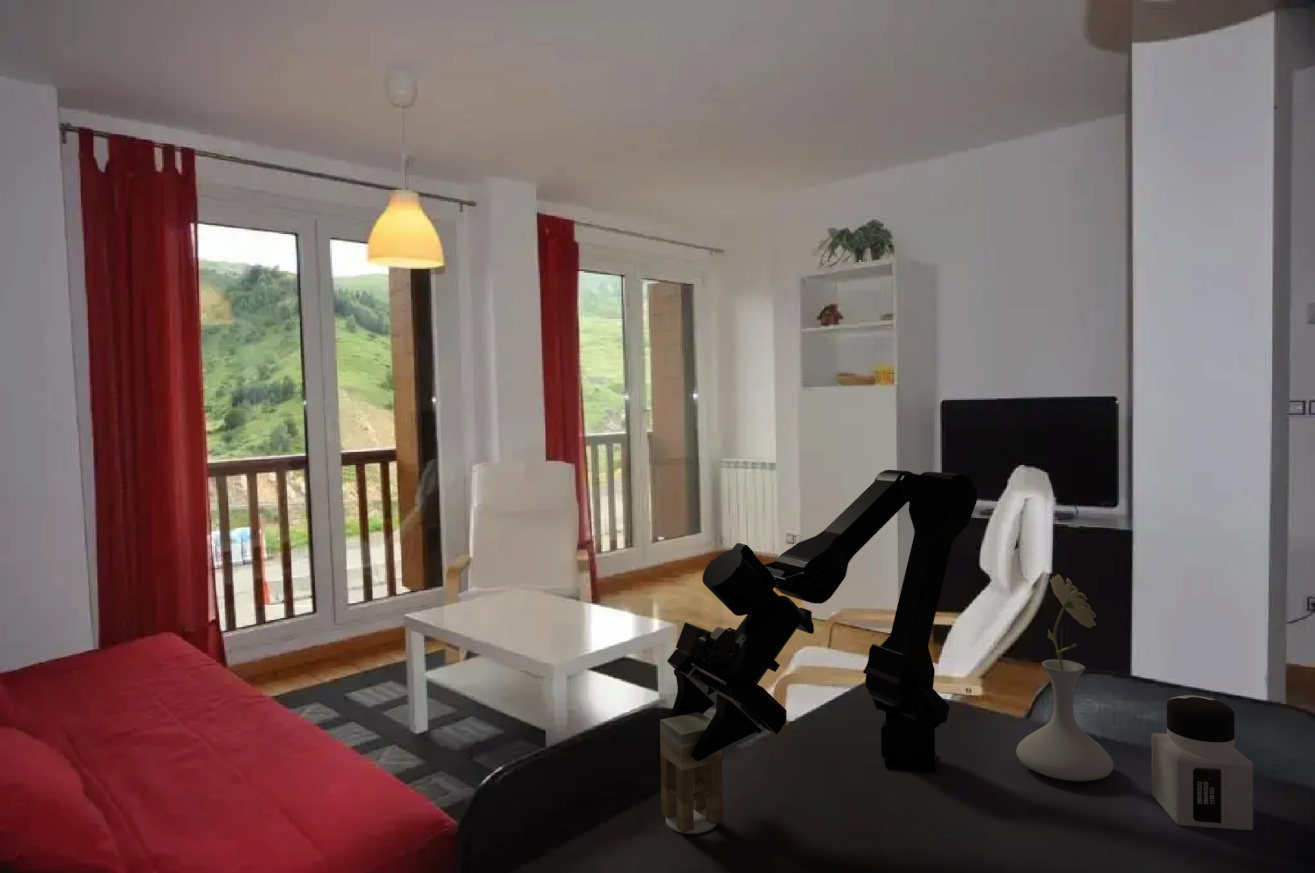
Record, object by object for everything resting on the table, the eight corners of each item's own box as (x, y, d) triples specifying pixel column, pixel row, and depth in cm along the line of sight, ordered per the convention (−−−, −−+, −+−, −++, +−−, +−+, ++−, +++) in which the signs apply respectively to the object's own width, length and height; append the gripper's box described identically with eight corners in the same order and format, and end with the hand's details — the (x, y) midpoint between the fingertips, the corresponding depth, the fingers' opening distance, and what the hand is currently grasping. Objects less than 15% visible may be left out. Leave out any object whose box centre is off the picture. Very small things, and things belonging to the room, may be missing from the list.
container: (1254, 831, 91) (1254, 714, 91) (1176, 826, 93) (1176, 710, 92) (1221, 799, 99) (1221, 691, 98) (1150, 794, 100) (1150, 688, 100)
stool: (700, 802, 99) (698, 711, 99) (722, 821, 95) (721, 726, 94) (661, 812, 97) (660, 719, 97) (682, 832, 92) (681, 734, 92)
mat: (722, 812, 98) (722, 808, 98) (710, 836, 92) (710, 833, 92) (673, 805, 100) (673, 802, 100) (659, 829, 94) (659, 826, 94)
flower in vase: (1121, 796, 100) (1120, 590, 100) (1018, 783, 104) (1017, 584, 103) (1104, 754, 112) (1103, 570, 112) (1012, 744, 116) (1011, 566, 116)
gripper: (679, 583, 105) (601, 684, 101) (762, 613, 89) (672, 735, 84) (733, 636, 109) (660, 735, 104) (822, 675, 92) (740, 795, 88)
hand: (679, 748), depth 95 cm, fingers open, 6 cm apart
